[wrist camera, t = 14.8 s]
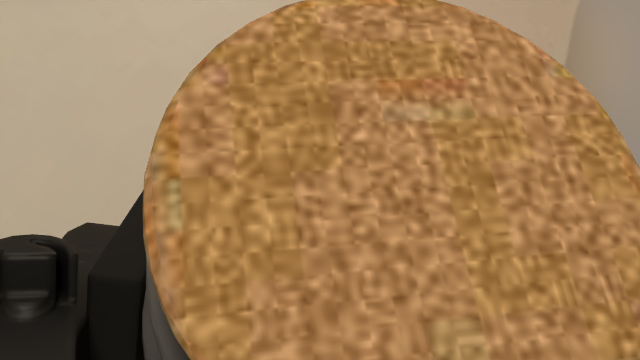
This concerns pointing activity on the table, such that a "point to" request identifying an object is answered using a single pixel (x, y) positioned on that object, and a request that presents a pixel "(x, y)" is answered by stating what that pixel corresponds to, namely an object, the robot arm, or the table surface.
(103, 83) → the table surface
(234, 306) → the bottle
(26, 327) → the robot arm
